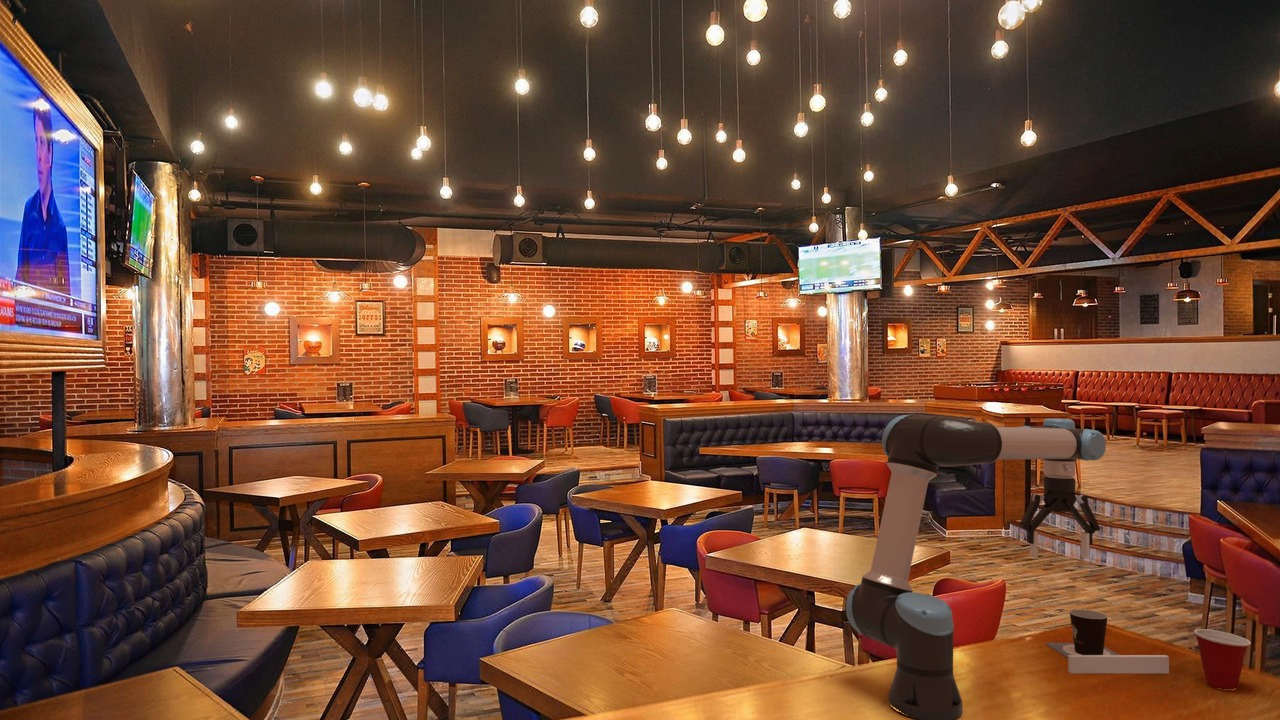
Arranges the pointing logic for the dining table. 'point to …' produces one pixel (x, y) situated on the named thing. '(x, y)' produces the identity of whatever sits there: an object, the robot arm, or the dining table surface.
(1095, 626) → the coffee mug
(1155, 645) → the dining table surface
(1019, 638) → the dining table surface
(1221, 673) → the plastic cup
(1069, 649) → the mat
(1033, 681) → the dining table surface
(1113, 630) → the dining table surface
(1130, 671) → the low wall
